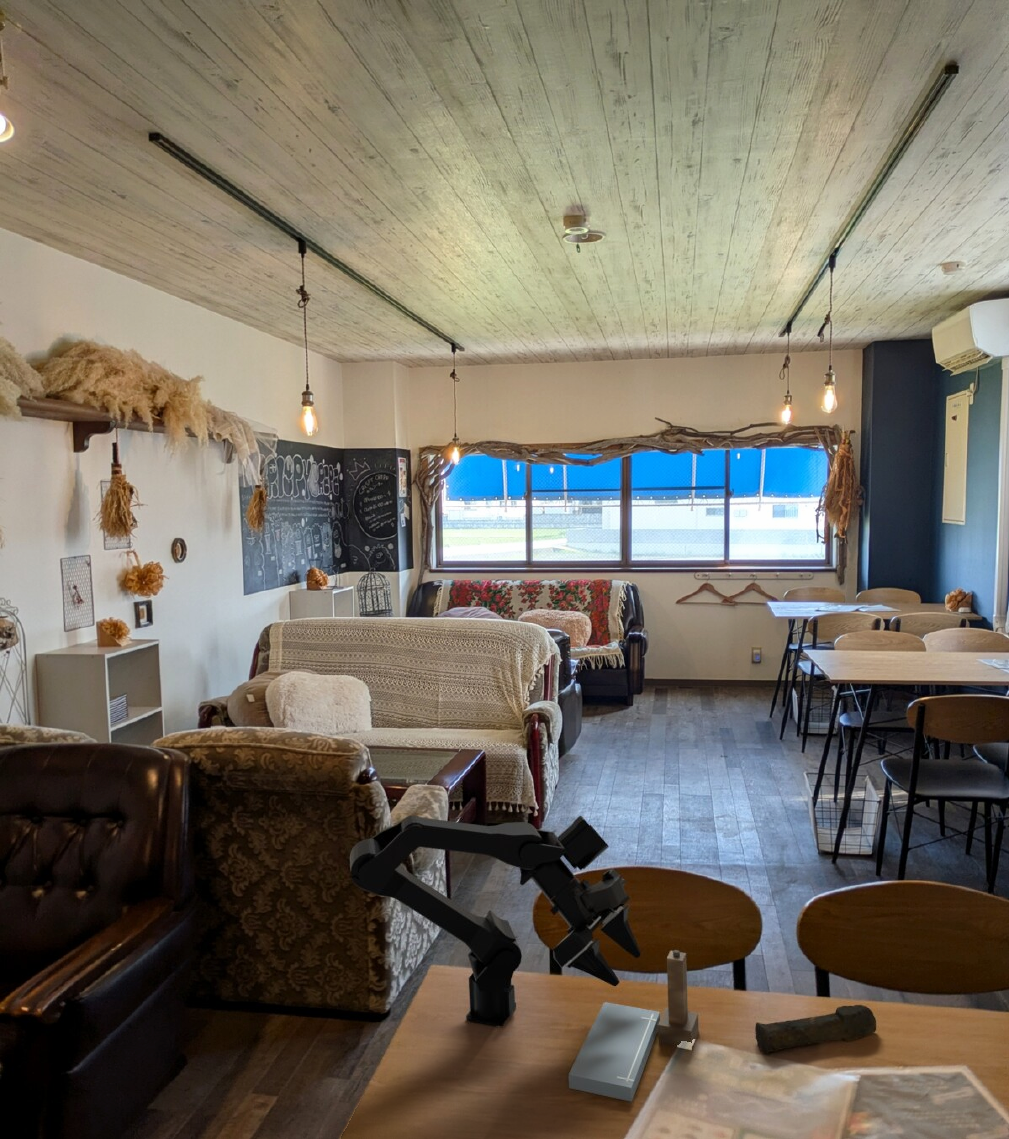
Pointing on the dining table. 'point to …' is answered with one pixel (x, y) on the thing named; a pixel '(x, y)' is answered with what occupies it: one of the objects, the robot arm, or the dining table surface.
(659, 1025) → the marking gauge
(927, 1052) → the dining table surface
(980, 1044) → the dining table surface
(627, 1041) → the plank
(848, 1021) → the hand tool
